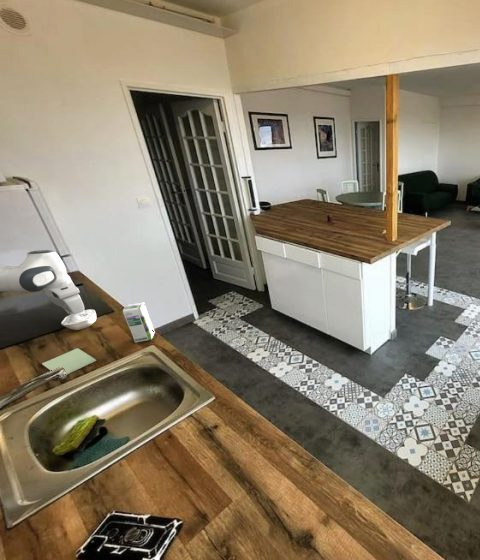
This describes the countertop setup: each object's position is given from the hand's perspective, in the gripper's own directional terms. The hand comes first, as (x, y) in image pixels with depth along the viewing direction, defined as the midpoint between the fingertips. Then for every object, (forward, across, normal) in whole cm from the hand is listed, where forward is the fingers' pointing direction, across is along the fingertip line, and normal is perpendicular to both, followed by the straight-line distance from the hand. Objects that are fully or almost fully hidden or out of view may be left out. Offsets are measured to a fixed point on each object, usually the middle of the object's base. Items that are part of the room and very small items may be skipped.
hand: (73, 316), depth 132 cm
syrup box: (+3, +38, +8) cm, 38 cm away
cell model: (+3, +7, 0) cm, 8 cm away
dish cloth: (+2, +30, -13) cm, 33 cm away
